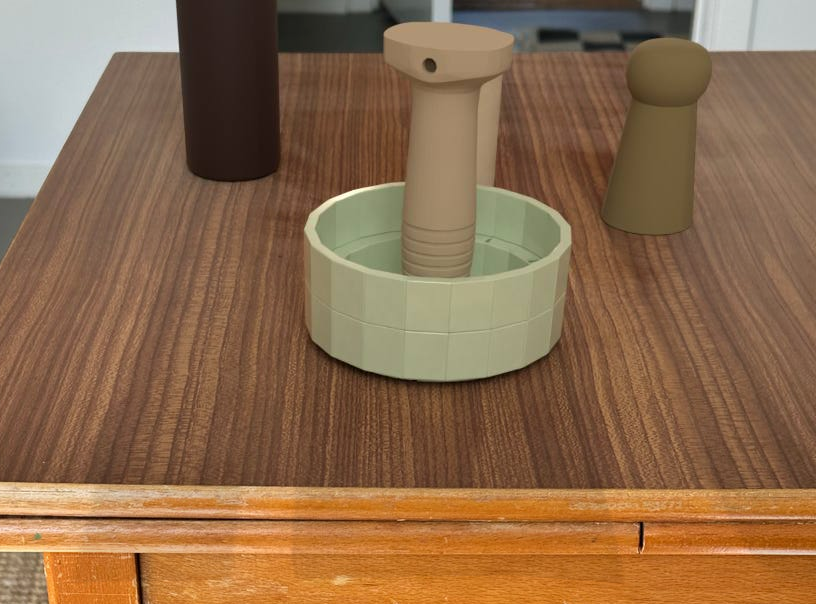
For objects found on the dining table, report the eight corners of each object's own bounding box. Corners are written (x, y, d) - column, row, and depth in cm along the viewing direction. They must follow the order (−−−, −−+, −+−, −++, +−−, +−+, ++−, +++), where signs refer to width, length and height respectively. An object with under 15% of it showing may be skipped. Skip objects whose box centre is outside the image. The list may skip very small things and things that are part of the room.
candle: (415, 212, 88) (422, 54, 82) (409, 183, 93) (415, 31, 87) (497, 211, 89) (510, 54, 82) (487, 182, 93) (499, 30, 87)
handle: (397, 294, 77) (407, 17, 68) (502, 315, 75) (527, 31, 65) (363, 327, 73) (368, 40, 64) (471, 349, 71) (493, 56, 62)
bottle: (177, 156, 97) (154, -160, 85) (266, 146, 99) (257, -164, 86) (199, 187, 92) (178, -143, 79) (292, 177, 94) (286, -148, 81)
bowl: (558, 286, 79) (569, 186, 76) (560, 399, 68) (573, 289, 65) (323, 273, 81) (323, 175, 77) (288, 382, 70) (286, 273, 66)
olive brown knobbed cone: (583, 207, 89) (605, 34, 82) (660, 196, 91) (688, 25, 84) (630, 240, 85) (657, 59, 78) (710, 227, 87) (743, 49, 80)
